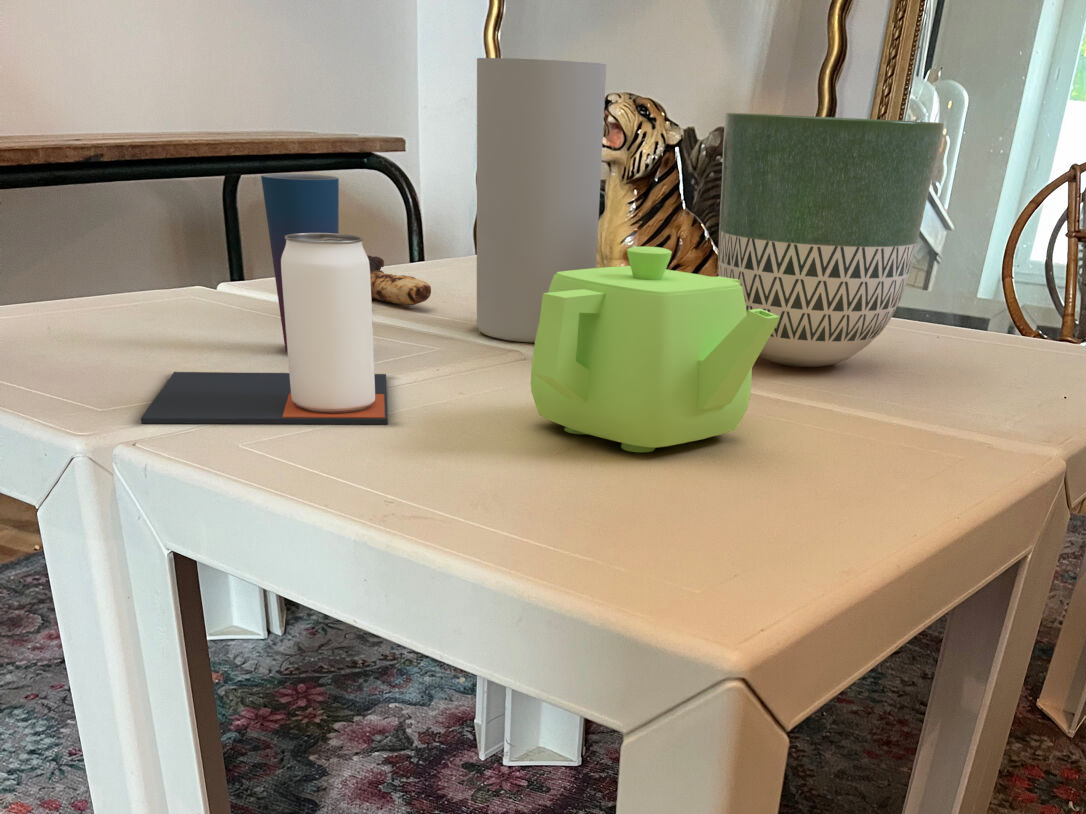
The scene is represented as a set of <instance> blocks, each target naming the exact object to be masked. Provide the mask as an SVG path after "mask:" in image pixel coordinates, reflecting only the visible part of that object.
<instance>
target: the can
mask: <svg viewBox="0 0 1086 814" xmlns="http://www.w3.org/2000/svg"><path fill="white" fill-rule="evenodd" d="M285 239H286V246H285V249H284V251H283V254H282V257H281V273H282V287H283V300H284V313H285V326H286V338H287V351H288V352H287V362H288V371H289V372H288V373H289V375H290V387H291V397H292V401H293V402H294V403H296V406H297V407H299V408H301V409H303V410H307V411H311V412H319V413H349V412H356V411H361V410H365V409H367V408H369V407H370V406H371V405H372V403H373V402H374V401H375V375H374V374H375V353H374V352H375V351H374V328H373V327H374V326H373V305H372V304H373V303H372V298H371V281H370V265H369V260H368V257H367V255H368V254H367V252H366V251H365V248H364V245H363V241H364V238H363V237H362V236H359V235H356V234H355V235H354V234H347V233H338V234H336V233H297V234H289V235H286V236H285Z"/></svg>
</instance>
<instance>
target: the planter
mask: <svg viewBox="0 0 1086 814" xmlns="http://www.w3.org/2000/svg"><path fill="white" fill-rule="evenodd" d="M944 128H945V124H944V123H943V122H936V121H935V122H934V121H933V122H931V121H917V120H916V121H915V120H914V121H913V120H897V119H896V120H895V119H894V120H893V119H876V118H875V119H874V118H857V117H855V118H853V117H835V116H833V117H832V116H814V115H813V116H811V115H791V114H790V115H789V114H768V113H767V114H766V113H745V112H744V113H743V112H726V113H725V115H724V127H723V143H722V166H721V167H722V169H721V186H720V187H721V188H720V203H719V225H718V246H717V247H718V248H717V249H718V250H717V276H720V277H726V278H732V279H738V280H740V286H742V289H743V294H744V299H745V305H746V311H748V310H752V309H762V310H765V311H767V312H770V313H772V314H775V315H777V316H780V319H779V322H778V324H777V325H776V327H775V329H774V330H773V332H772V334H771V336H770V337H769V339H768V341H767V342H766V344H765V346H764V348H763V349H762V351H761V353H760V354H759V356H758V357H761V358H763V359H765V360H767V361H770V362H772V363H776V364H779V365H783V366H789V367H799V368H819V367H828V366H832V365H836V364H839V363H841V362H844V361H846V360H848V359H850V358H852V357H853V356H855V355H857V354H858V353H859V352H861V351H862V350H863V349H865V348H867V346H869V345H870V344H871V343H872V342H873V341H874V340H875V339H876V338H878V336H879V335H880V334H881V333H882V332H883V331H884V329H885V328H886V327H887V325H888V324H889V323H890V321H891V319H892V318H893V316H894V314H895V312H896V310H897V308H898V306H899V303H900V301H901V298H902V297H903V294H904V291H905V289H906V286H907V283H908V280H909V277H910V276H909V275H910V273H911V268H912V264H913V260H914V255H915V252H916V248H917V244H918V239H919V235H920V231H921V227H922V224H923V219H924V214H925V211H926V205H927V201H928V197H929V192H930V188H931V184H932V179H933V176H934V171H935V168H936V164H937V159H938V155H939V150H940V145H941V143H942V142H941V141H942V137H943V132H944Z"/></svg>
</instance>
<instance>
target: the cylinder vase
mask: <svg viewBox="0 0 1086 814" xmlns="http://www.w3.org/2000/svg"><path fill="white" fill-rule="evenodd" d="M606 76H607V64H606V63H598V62H589V61H588V62H587V61H574V60H573V61H572V60H555V59H537V58H536V59H535V58H512V57H511V58H508V57H477V58H476V326H477V329H478V330H479V331H480V333H482V334H483V335H486V336H488V337H491V338H494V339H498V340H502V341H503V340H504V341H510V342H517V343H529V344H531V343H532V344H535V340H536V335H537V330H538V326H539V321H540V313H541V305H542V297H543V293H548V291H549V288H550V285H551V282H552V279H553V277H554V275H556V273H557V272H561V271H570V270H580V269H592V268H597V257H598V239H599V237H598V236H599V220H600V201H601V200H600V197H601V181H602V180H601V177H602V161H603V160H602V158H603V141H604V140H603V139H604V138H603V137H604V121H605V120H604V118H605V100H606V83H607V81H606V80H607V79H606V78H607V77H606Z"/></svg>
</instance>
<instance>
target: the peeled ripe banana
mask: <svg viewBox="0 0 1086 814" xmlns="http://www.w3.org/2000/svg"><path fill="white" fill-rule="evenodd" d="M366 255H367V257H368V260H369V265H370V281H371V299H374V300H379V301H381V302H386V303H392V304H396V305H405V306H415V305H419V304H421V303H424V302H426V301H427V300H429V298H430V296H431V294H432V286H431V285H430V283H428V282H427V281H425V280H421V279H418V278H416V277H414V276H412V275H405V274H400V275H397V274H393V273H385V272H384V271H383V270H381V269H382V268H384V267H385V261H384V259H383V258H382V257H380V256H372V255H369V254H366Z"/></svg>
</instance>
